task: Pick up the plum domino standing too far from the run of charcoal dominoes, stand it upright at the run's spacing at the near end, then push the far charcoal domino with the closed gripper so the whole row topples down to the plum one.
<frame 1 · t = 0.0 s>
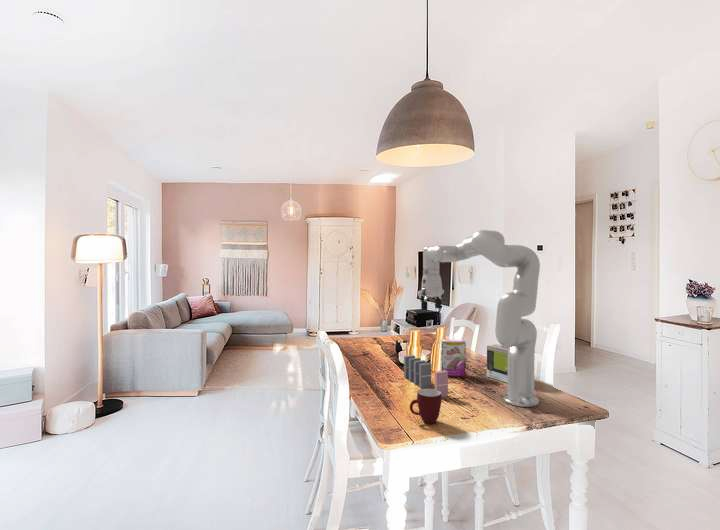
hand: (431, 308, 186), 31 cm above the table, tool pointing down, fingers open, 9 cm apart
grey toy television: (506, 379, 179), on the table
domino 4: (425, 387, 169), on the table
plum domino: (441, 396, 157), on the table
mug: (425, 422, 133), on the table
domino 3: (419, 383, 173), on the table
domino 2: (414, 380, 178), on the table
domino 1: (409, 377, 182), on the table
candy bar box: (452, 375, 186), on the table
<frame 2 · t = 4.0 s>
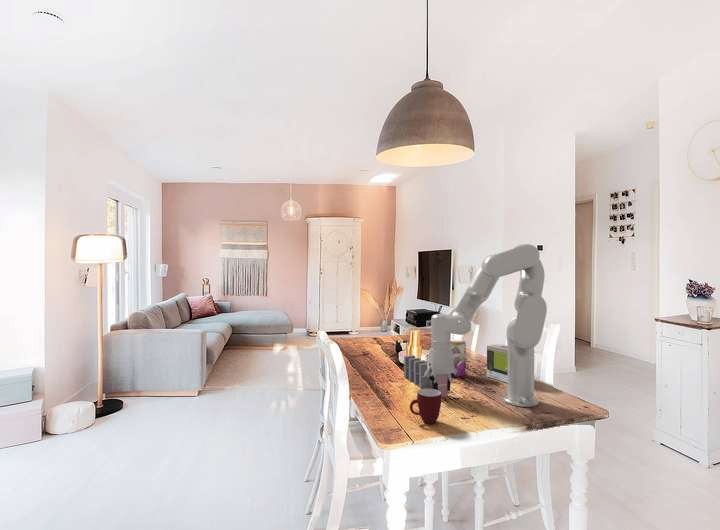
hand: (441, 390, 157), 2 cm above the table, tool pointing down, fingers closed on plum domino, 4 cm apart
plum domino: (441, 396, 157), on the table, touching gripper
everything else where it was.
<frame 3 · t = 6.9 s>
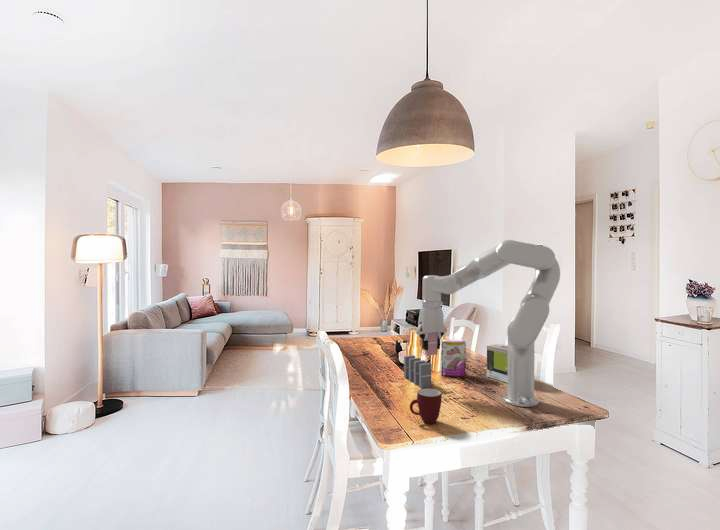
hand: (431, 348, 163), 18 cm above the table, tool pointing down, fingers closed on plum domino, 4 cm apart
plum domino: (431, 354, 163), point 15 cm above the table, touching gripper
everything else where it was.
when the fingers open (3 cm above the table, at t = 10.1 s): plum domino stays where it is, on the table.
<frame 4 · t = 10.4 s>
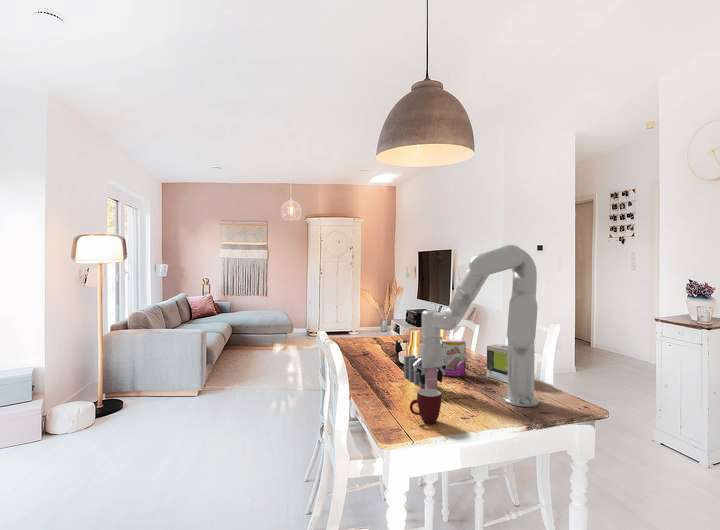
hand: (430, 382, 164), 3 cm above the table, tool pointing down, fingers open, 7 cm apart
plum domino: (431, 390, 164), on the table
everything else where it was.
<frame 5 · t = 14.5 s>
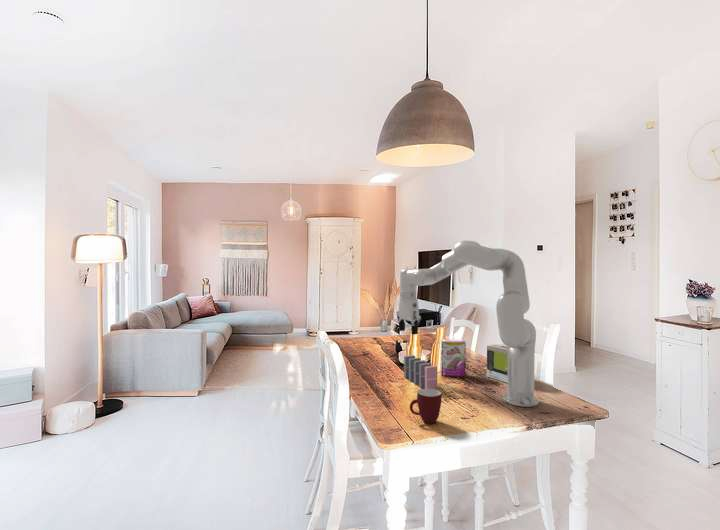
hand: (408, 332, 183), 21 cm above the table, tool pointing down, fingers open, 9 cm apart
nothing on the table moved.
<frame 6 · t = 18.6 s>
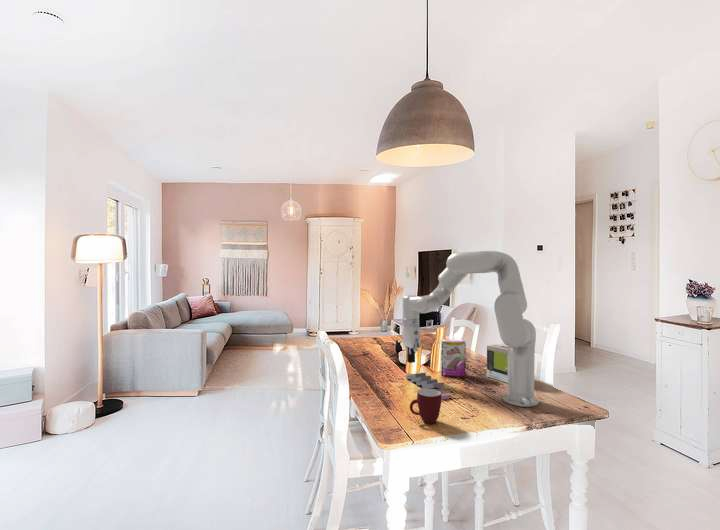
hand: (411, 362, 181), 8 cm above the table, tool pointing down, fingers closed
domino 4: (427, 386, 167), point 1 cm above the table, tilted 70°, touching domino 3, plum domino
plum domino: (432, 389, 163), point 1 cm above the table, tilted 89°, touching domino 4
domino 3: (421, 382, 172), point 1 cm above the table, tilted 71°, touching domino 2, domino 4
domino 2: (415, 379, 177), point 1 cm above the table, tilted 70°, touching domino 1, domino 3
domino 1: (411, 376, 181), point 1 cm above the table, tilted 70°, touching domino 2
everything else where it was.
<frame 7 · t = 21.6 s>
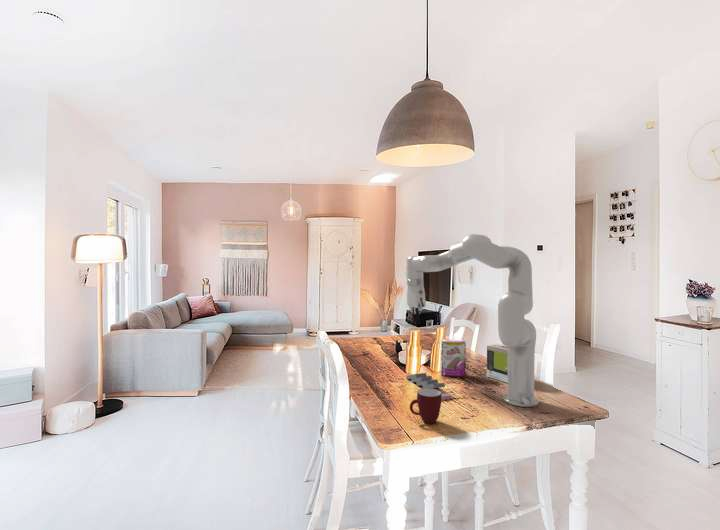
hand: (416, 322, 183), 25 cm above the table, tool pointing down, fingers closed
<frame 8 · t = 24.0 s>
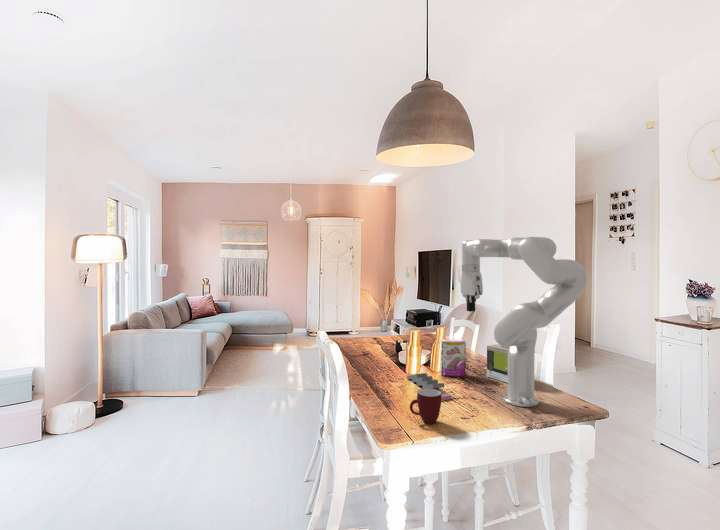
hand: (470, 311, 171), 32 cm above the table, tool pointing down, fingers closed
domino 4: (427, 386, 167), point 1 cm above the table, tilted 71°, touching plum domino
domino 3: (421, 383, 172), point 1 cm above the table, tilted 71°, touching domino 2
everything else where it was.
at the end: plum domino tilted 89°; plum domino 1.7 cm from the target spot, point 0.7 cm above the table; domino 1 tilted 71° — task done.
